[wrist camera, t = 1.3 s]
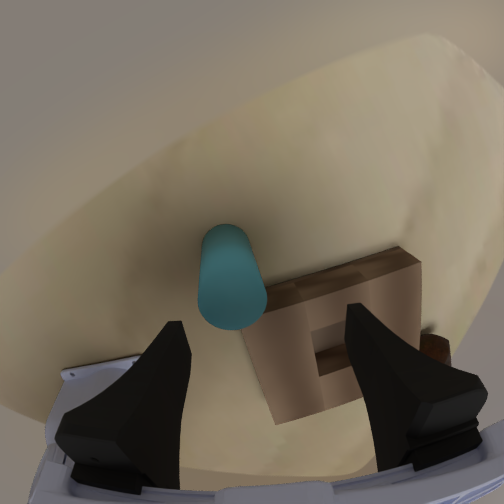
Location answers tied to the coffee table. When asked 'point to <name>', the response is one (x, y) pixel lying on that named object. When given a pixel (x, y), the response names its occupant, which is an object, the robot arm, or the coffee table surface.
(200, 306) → the pin
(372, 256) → the bore block
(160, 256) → the coffee table surface
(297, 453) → the coffee table surface
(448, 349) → the bolt
